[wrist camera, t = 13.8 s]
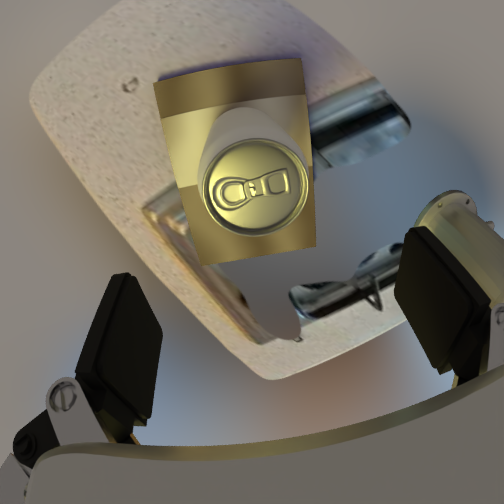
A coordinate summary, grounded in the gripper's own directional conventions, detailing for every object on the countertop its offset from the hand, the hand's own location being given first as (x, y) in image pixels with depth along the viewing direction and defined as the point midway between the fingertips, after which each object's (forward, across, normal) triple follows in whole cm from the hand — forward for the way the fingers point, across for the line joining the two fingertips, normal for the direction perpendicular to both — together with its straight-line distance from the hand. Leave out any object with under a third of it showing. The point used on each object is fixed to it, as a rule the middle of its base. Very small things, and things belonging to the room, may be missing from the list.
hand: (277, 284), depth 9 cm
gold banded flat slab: (+20, 0, +2) cm, 20 cm away
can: (+19, 0, -1) cm, 19 cm away
